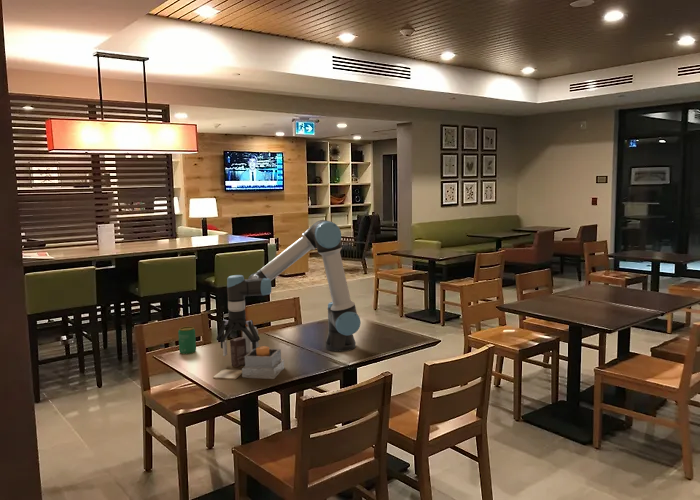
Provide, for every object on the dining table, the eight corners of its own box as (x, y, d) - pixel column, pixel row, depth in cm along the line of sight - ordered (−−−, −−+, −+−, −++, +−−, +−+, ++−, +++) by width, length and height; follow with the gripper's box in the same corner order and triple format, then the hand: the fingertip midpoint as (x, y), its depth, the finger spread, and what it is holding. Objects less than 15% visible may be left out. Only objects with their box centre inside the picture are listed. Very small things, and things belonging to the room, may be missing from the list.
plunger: (271, 354, 245) (271, 346, 245) (267, 358, 240) (266, 350, 240) (259, 353, 247) (258, 345, 246) (254, 357, 241) (254, 349, 241)
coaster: (244, 371, 246) (244, 370, 246) (235, 379, 236) (235, 378, 236) (222, 370, 248) (222, 369, 248) (212, 378, 238) (212, 377, 238)
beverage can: (199, 350, 279) (198, 327, 277) (188, 355, 272) (187, 331, 270) (187, 349, 282) (185, 325, 281) (175, 353, 275) (174, 329, 274)
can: (255, 354, 271) (254, 329, 270) (241, 353, 273) (239, 329, 271) (261, 349, 279) (260, 326, 277) (246, 349, 280) (245, 325, 279)
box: (241, 362, 260) (240, 336, 258) (247, 364, 257) (246, 338, 255) (230, 365, 255) (229, 339, 254) (237, 367, 252) (235, 341, 251)
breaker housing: (284, 368, 250) (283, 348, 249) (273, 379, 236) (273, 358, 235) (254, 366, 252) (253, 347, 251) (242, 377, 239) (241, 356, 238)
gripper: (265, 308, 254) (267, 354, 257) (214, 307, 259) (216, 352, 261) (259, 312, 247) (261, 359, 249) (207, 310, 252) (209, 357, 254)
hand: (238, 355), depth 255 cm, fingers open, 12 cm apart
